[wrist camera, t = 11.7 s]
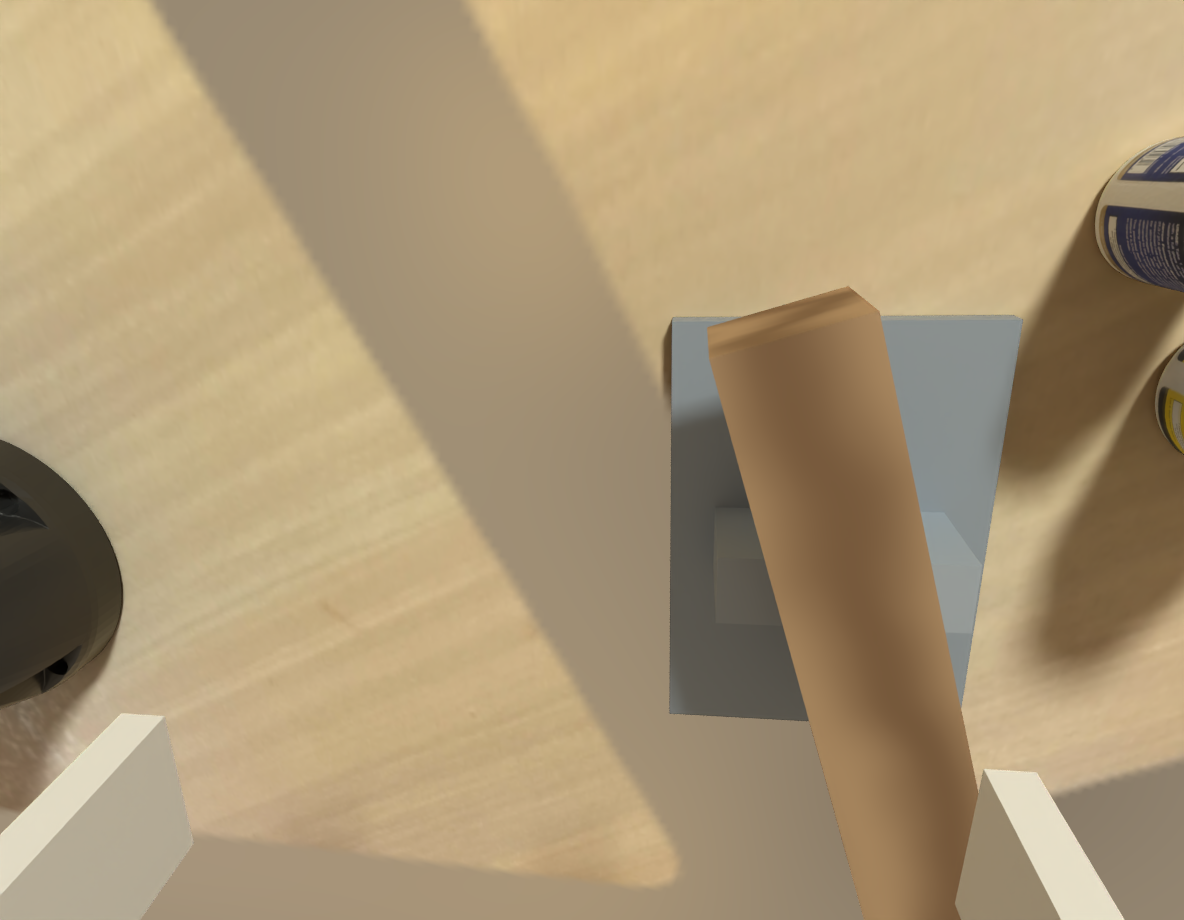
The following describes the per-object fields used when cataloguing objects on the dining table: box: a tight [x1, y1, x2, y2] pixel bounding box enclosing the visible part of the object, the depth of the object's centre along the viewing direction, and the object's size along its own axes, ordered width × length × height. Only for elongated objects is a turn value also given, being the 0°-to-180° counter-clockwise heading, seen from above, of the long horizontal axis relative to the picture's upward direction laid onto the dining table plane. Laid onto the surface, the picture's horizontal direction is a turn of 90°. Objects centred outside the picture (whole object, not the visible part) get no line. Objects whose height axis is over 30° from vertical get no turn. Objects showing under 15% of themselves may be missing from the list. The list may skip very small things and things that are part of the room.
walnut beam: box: [707, 286, 978, 920], centre depth 29 cm, size 5×24×5 cm, turn 17°
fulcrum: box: [670, 315, 1023, 721], centre depth 34 cm, size 14×20×6 cm
